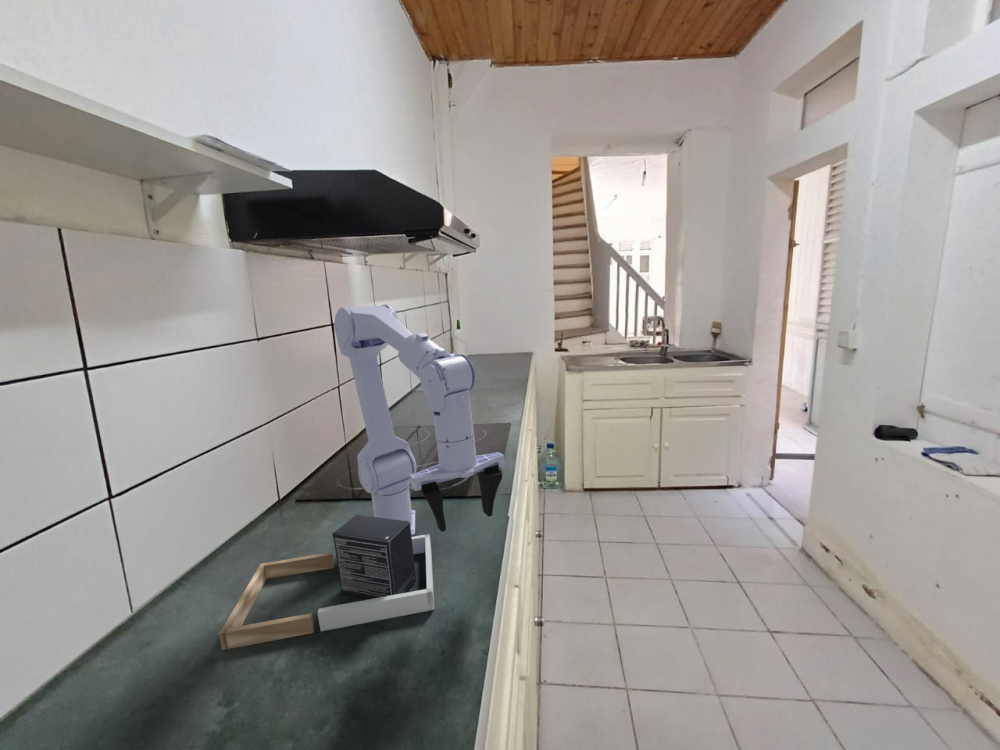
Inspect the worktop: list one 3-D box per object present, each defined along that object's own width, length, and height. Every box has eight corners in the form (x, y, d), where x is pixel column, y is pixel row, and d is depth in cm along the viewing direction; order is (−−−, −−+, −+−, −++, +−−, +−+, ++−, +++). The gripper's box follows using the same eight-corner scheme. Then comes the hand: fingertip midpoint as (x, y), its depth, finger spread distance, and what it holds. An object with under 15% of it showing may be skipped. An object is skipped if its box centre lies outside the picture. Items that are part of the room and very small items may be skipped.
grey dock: (340, 564, 74) (338, 548, 74) (431, 548, 77) (429, 533, 77) (320, 631, 59) (317, 612, 59) (434, 609, 62) (432, 591, 61)
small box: (419, 578, 69) (412, 519, 67) (397, 606, 63) (389, 542, 61) (365, 568, 73) (357, 512, 71) (339, 593, 67) (330, 533, 65)
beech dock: (263, 576, 72) (260, 563, 72) (334, 565, 74) (332, 552, 74) (222, 650, 57) (218, 634, 57) (313, 632, 59) (310, 617, 59)
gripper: (414, 454, 57) (427, 547, 59) (509, 432, 63) (518, 517, 65) (402, 442, 63) (414, 526, 65) (490, 422, 69) (499, 500, 71)
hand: (465, 521), depth 66 cm, fingers open, 7 cm apart
